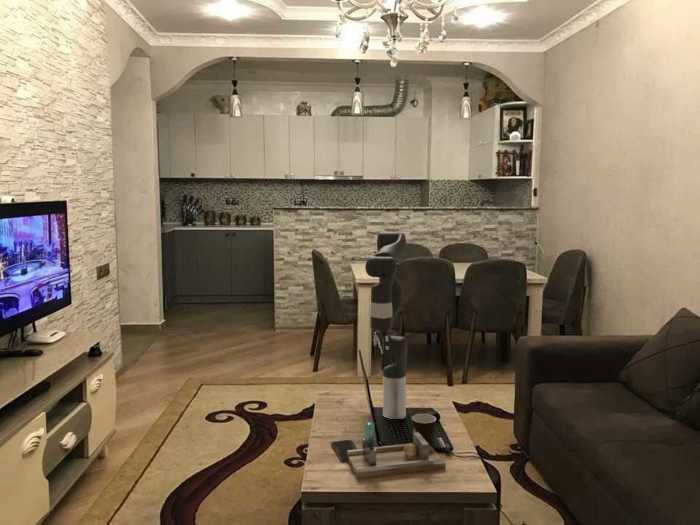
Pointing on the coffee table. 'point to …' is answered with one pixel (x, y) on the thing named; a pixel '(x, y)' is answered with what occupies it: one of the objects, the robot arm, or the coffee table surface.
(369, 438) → the moving jaw
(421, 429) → the coffee mug
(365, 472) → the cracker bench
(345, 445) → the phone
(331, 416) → the coffee table surface
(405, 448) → the nut
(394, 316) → the robot arm
